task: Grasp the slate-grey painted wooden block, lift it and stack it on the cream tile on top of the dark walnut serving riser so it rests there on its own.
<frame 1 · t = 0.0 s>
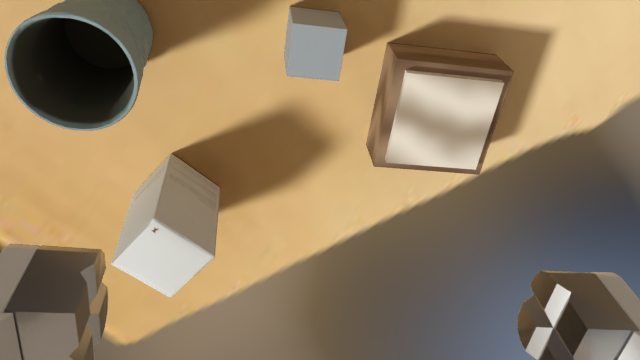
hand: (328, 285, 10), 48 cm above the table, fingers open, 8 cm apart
teal cup: (107, 30, 55), on the table
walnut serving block: (428, 101, 62), on the table
supplement box: (178, 189, 65), on the table
slate block: (311, 33, 57), on the table
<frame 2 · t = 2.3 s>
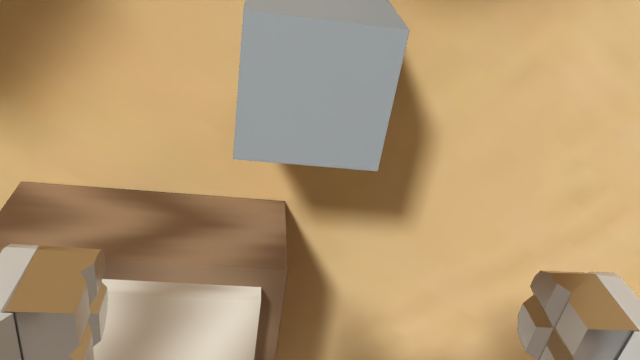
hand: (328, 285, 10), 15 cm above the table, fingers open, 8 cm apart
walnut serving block: (158, 287, 29), on the table
slate block: (306, 39, 23), on the table
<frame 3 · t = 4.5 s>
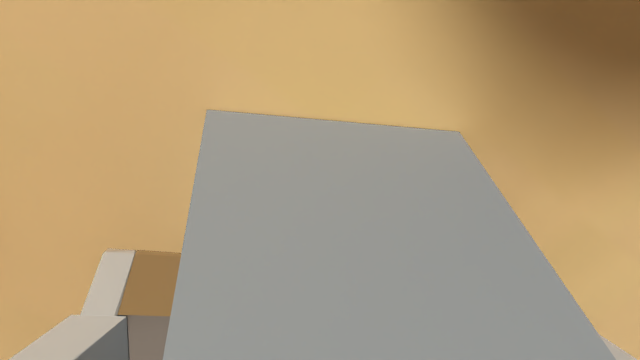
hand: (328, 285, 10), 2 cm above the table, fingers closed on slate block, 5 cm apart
slate block: (319, 225, 12), on the table, touching gripper
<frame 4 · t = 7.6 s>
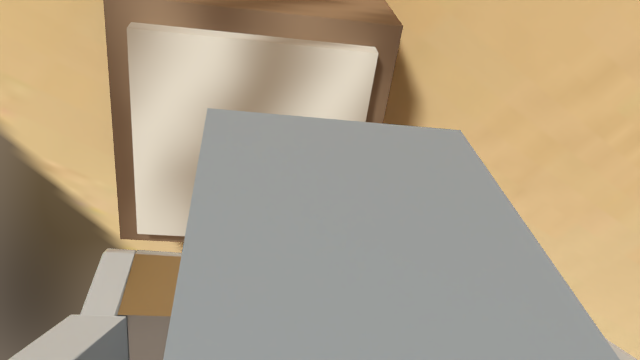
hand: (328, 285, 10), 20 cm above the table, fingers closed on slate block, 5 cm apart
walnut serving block: (251, 97, 30), on the table
slate block: (320, 223, 12), point 18 cm above the table, touching gripper
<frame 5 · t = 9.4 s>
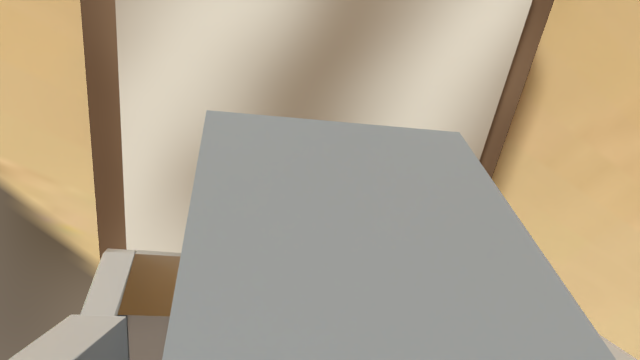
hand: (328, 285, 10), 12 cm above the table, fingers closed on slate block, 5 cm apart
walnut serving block: (297, 66, 20), on the table
slate block: (319, 225, 12), point 10 cm above the table, touching gripper
when the fingers open (9 cm above the table, at t = 10.7 s): slate block drops 2 cm, resting on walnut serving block.
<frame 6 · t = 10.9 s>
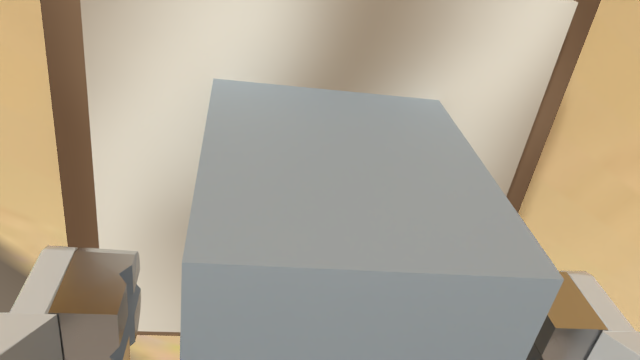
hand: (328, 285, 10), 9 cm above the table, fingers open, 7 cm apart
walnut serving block: (296, 93, 18), on the table
slate block: (314, 186, 13), point 6 cm above the table, touching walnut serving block
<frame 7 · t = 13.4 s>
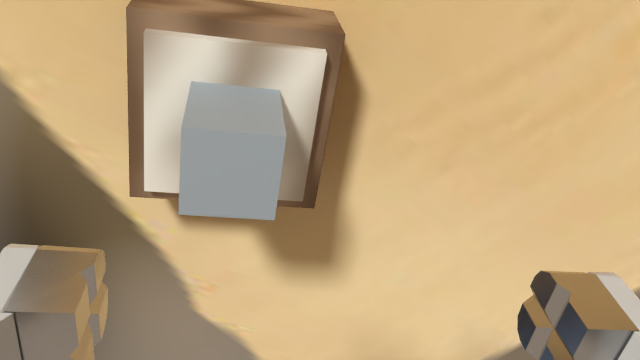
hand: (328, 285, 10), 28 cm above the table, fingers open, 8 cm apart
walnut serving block: (232, 88, 38), on the table
slate block: (232, 125, 33), point 6 cm above the table, touching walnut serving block
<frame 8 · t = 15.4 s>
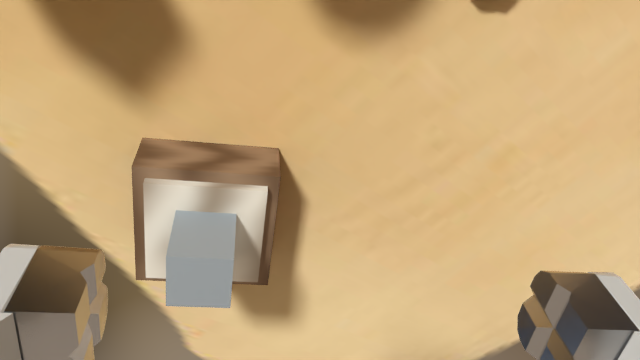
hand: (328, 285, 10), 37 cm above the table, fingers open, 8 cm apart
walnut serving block: (209, 199, 53), on the table
slate block: (205, 235, 48), point 6 cm above the table, touching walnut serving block
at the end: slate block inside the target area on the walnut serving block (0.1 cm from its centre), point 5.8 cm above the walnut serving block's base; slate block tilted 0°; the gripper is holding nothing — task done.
